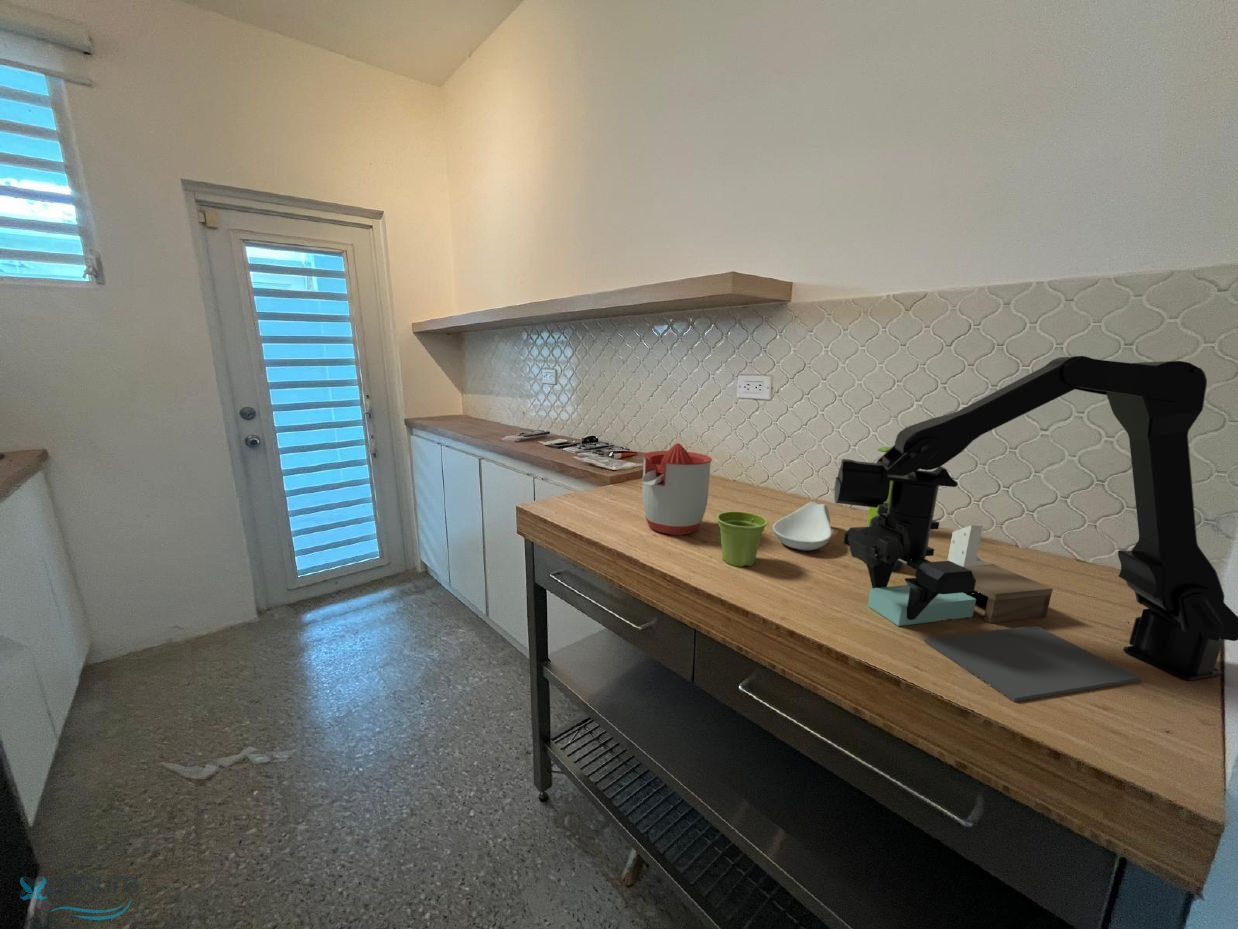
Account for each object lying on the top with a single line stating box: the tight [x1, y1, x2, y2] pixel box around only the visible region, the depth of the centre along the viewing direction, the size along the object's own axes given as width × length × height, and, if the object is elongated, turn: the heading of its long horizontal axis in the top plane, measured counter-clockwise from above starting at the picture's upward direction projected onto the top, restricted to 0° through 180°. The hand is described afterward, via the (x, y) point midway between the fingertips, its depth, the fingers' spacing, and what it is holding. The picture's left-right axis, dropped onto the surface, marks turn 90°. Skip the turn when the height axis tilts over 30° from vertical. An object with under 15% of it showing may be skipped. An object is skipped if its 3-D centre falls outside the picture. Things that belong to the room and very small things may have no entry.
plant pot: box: [716, 510, 768, 568], centre depth 89 cm, size 9×9×9 cm
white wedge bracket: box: [946, 524, 988, 567], centre depth 87 cm, size 4×10×9 cm, turn 169°
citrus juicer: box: [641, 443, 713, 536], centre depth 105 cm, size 16×17×20 cm
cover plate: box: [867, 584, 977, 627], centre depth 72 cm, size 6×14×3 cm, turn 104°
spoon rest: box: [772, 501, 833, 552], centre depth 103 cm, size 24×12×7 cm, turn 145°
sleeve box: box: [964, 563, 1053, 624], centre depth 75 cm, size 9×11×5 cm
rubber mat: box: [923, 625, 1142, 703], centre depth 61 cm, size 12×20×1 cm, turn 103°
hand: (893, 608), depth 71 cm, fingers closed on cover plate, 6 cm apart
